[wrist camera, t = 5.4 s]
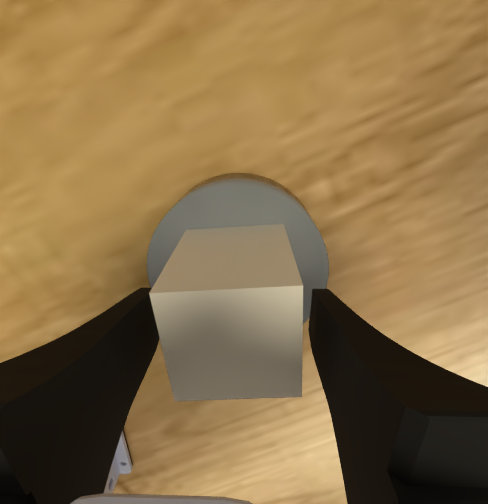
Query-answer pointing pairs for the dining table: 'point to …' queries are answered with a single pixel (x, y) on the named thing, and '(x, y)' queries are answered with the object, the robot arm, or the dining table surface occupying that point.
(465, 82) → the dining table surface
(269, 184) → the grey disc
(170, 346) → the cream block
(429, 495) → the robot arm
